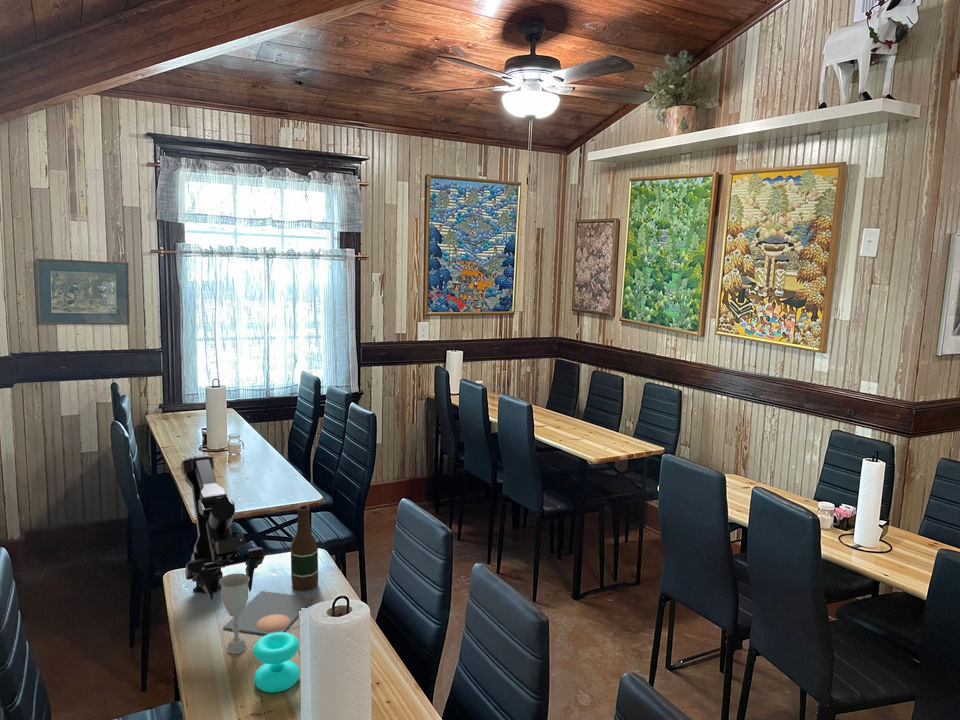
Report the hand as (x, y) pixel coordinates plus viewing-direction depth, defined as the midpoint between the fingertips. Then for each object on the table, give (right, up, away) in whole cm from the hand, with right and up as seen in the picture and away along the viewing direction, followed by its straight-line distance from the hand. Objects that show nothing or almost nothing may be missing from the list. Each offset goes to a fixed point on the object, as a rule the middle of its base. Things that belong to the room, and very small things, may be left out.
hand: (231, 595), depth 177 cm
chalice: (+2, -13, -2) cm, 13 cm away
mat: (+5, -10, +15) cm, 19 cm away
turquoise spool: (+15, -15, -14) cm, 26 cm away
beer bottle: (+11, -8, +31) cm, 34 cm away
